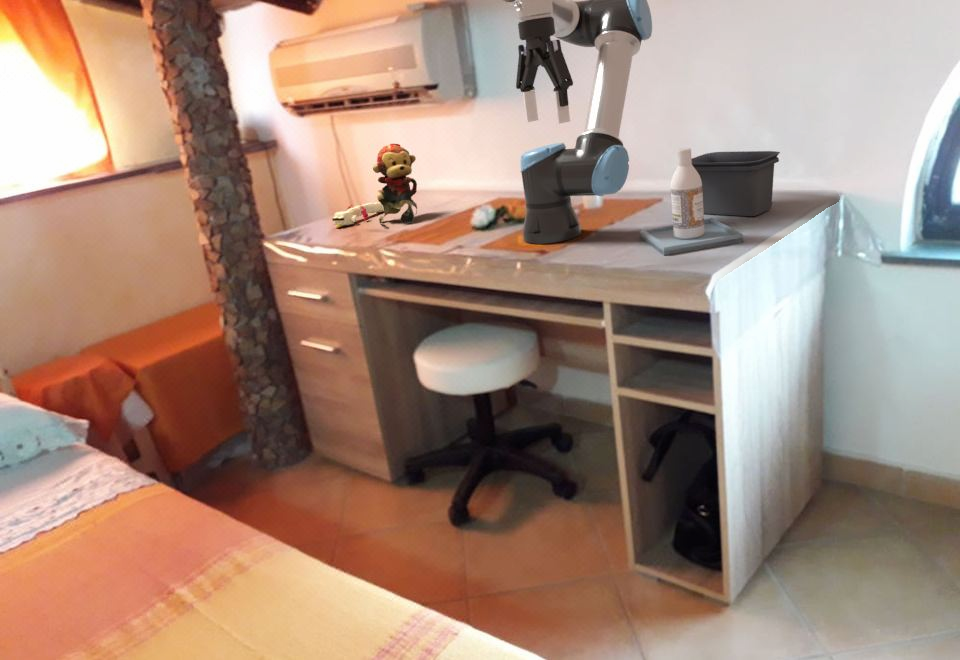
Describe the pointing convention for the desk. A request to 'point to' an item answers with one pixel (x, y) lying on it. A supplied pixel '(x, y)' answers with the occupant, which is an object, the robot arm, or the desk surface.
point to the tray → (712, 237)
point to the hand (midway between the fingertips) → (547, 122)
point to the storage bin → (736, 181)
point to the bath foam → (687, 198)
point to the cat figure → (356, 213)
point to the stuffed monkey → (396, 181)
